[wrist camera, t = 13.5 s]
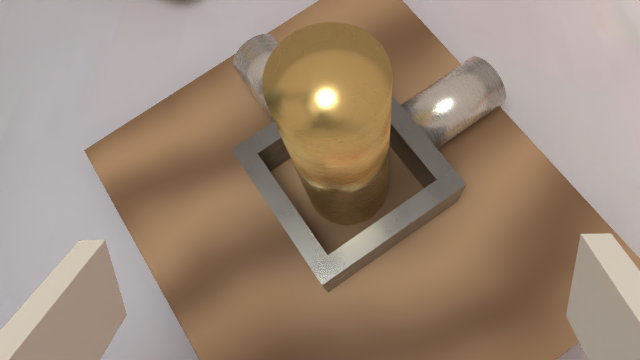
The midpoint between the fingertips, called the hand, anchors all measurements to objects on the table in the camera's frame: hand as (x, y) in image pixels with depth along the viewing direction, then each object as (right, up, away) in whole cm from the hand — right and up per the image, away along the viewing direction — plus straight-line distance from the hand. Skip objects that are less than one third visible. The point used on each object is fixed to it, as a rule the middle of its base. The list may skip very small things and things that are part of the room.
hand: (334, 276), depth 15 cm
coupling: (+1, +2, +14) cm, 14 cm away
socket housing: (+2, +6, +15) cm, 16 cm away
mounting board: (+1, +1, +15) cm, 15 cm away
